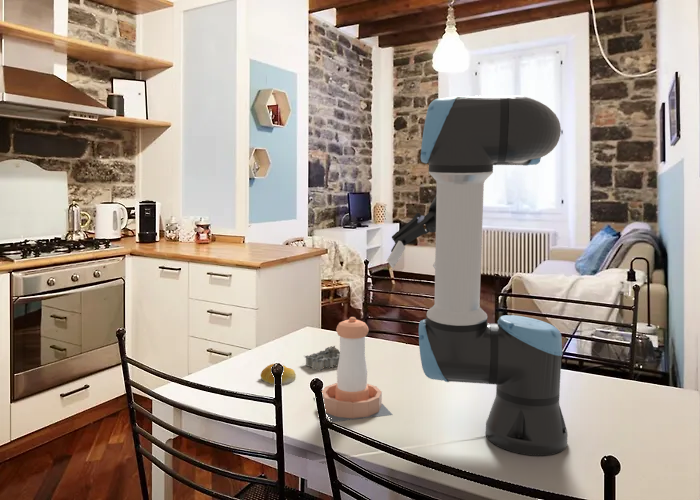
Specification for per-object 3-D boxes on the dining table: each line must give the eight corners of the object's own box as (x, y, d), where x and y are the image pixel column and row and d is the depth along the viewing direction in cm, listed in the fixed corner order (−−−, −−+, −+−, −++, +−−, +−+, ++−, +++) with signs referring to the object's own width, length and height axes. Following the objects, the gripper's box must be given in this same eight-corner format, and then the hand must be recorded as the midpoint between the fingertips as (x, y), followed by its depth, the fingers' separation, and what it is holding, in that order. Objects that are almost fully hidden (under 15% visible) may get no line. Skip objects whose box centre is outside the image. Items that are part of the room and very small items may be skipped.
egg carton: (335, 359, 158) (336, 345, 158) (349, 366, 152) (349, 351, 152) (302, 364, 153) (302, 350, 153) (314, 372, 147) (314, 357, 146)
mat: (392, 416, 117) (392, 414, 117) (329, 424, 113) (329, 422, 113) (370, 393, 131) (370, 391, 130) (313, 399, 126) (313, 398, 126)
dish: (389, 413, 118) (389, 399, 117) (331, 420, 114) (331, 406, 113) (369, 392, 130) (369, 379, 129) (316, 398, 126) (316, 385, 126)
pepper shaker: (330, 406, 120) (330, 319, 118) (342, 394, 126) (342, 312, 124) (362, 410, 117) (363, 322, 115) (372, 398, 124) (373, 315, 122)
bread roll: (275, 389, 134) (275, 373, 133) (256, 379, 140) (255, 364, 140) (303, 381, 139) (303, 366, 139) (282, 373, 146) (282, 358, 145)
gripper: (497, 214, 136) (463, 282, 126) (414, 211, 152) (379, 271, 143) (487, 193, 131) (451, 261, 122) (403, 192, 148) (366, 252, 139)
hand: (412, 266), depth 132 cm, fingers open, 13 cm apart
